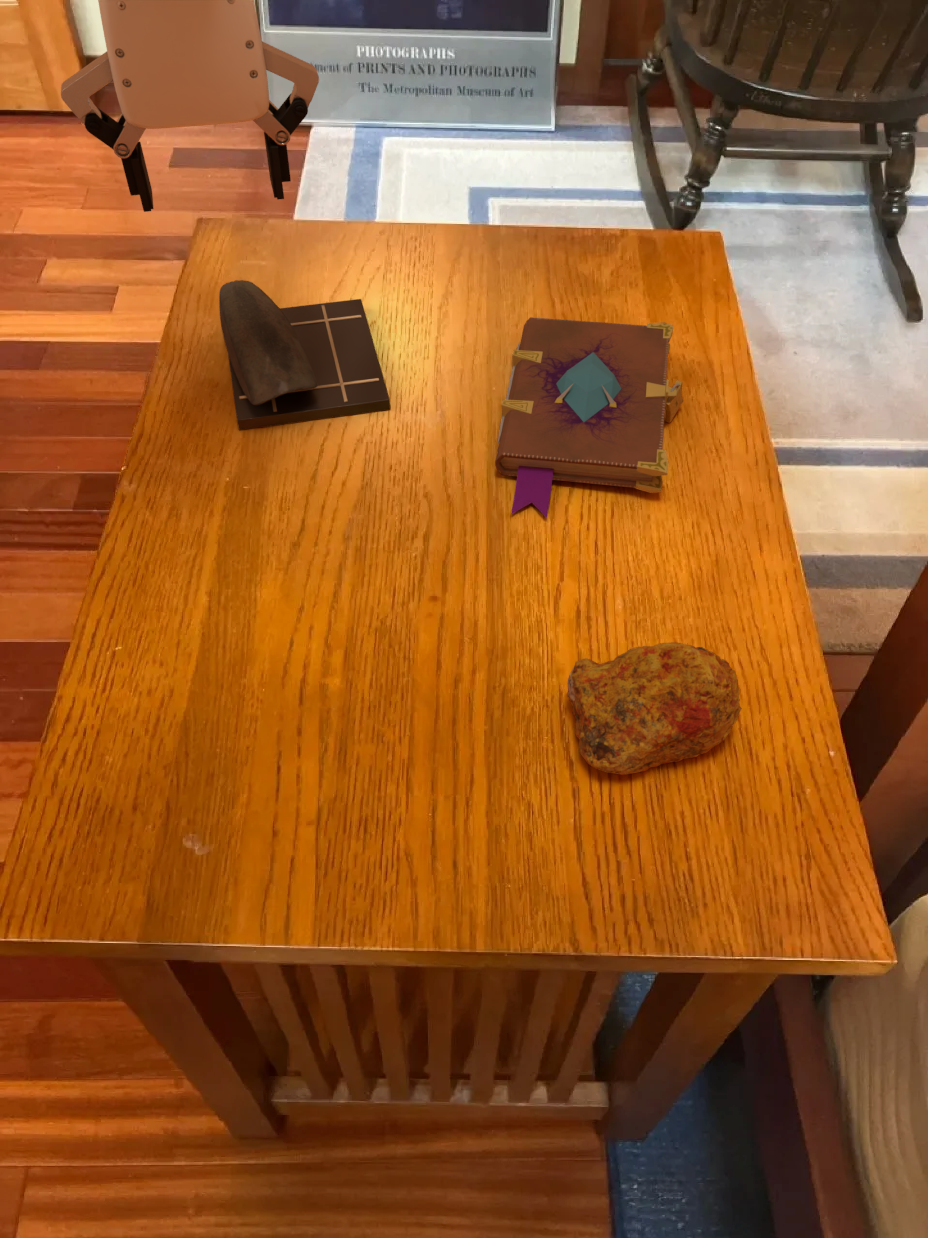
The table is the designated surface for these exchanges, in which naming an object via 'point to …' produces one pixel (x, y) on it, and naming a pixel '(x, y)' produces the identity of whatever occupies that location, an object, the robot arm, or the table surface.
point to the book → (586, 407)
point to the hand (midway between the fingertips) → (213, 196)
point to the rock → (652, 706)
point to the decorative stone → (262, 344)
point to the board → (324, 369)
